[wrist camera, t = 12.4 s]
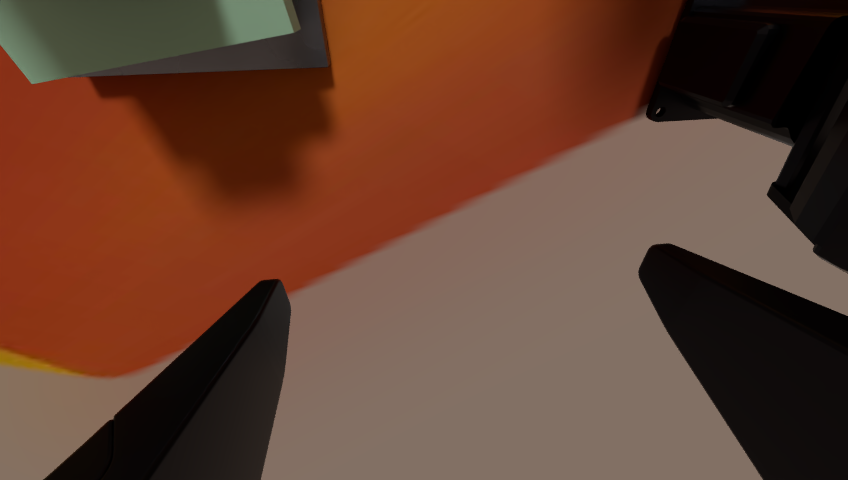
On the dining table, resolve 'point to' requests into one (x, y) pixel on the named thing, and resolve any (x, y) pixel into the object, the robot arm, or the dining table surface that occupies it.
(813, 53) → the robot arm
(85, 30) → the grey and green block
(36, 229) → the dining table surface
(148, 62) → the chassis
